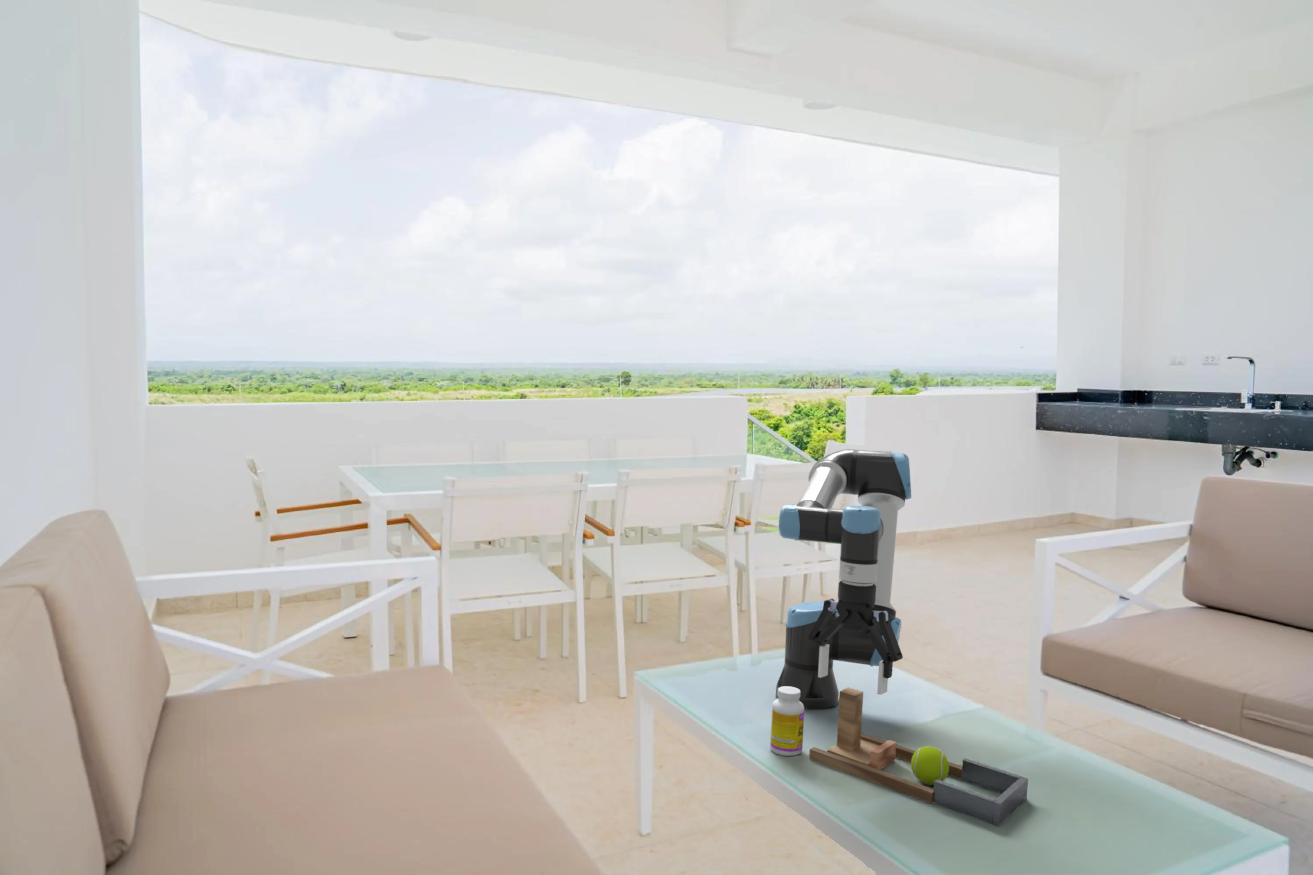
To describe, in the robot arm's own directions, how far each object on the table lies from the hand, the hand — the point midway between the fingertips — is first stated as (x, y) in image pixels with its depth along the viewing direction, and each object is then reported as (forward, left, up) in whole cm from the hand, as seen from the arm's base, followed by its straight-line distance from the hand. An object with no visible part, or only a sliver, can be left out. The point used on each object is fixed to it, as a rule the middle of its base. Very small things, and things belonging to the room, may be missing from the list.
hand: (851, 684), depth 177 cm
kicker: (0, +2, -15) cm, 15 cm away
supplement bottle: (+8, -10, -15) cm, 20 cm away
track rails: (0, +8, -15) cm, 17 cm away
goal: (0, +27, -15) cm, 31 cm away
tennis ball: (0, +17, -15) cm, 23 cm away
